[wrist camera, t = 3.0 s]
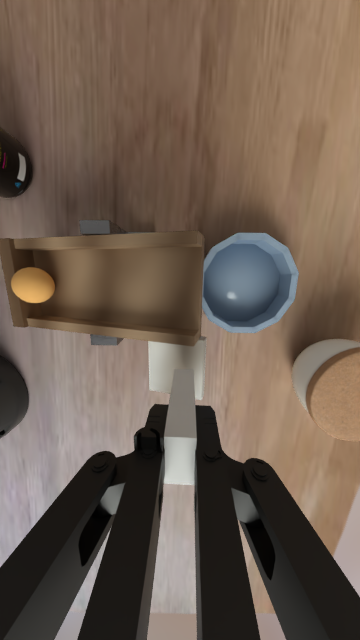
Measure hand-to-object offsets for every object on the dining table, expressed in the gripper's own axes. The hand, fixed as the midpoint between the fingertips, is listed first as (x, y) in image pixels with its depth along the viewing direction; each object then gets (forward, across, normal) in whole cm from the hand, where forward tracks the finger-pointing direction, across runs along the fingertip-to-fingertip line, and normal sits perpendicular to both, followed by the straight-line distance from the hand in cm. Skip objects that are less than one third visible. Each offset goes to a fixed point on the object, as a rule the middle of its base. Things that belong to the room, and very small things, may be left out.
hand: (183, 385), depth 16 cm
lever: (+5, -7, +4) cm, 10 cm away
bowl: (+12, +7, +7) cm, 16 cm away
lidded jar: (+13, +18, -4) cm, 23 cm away
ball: (+4, -14, +7) cm, 16 cm away
